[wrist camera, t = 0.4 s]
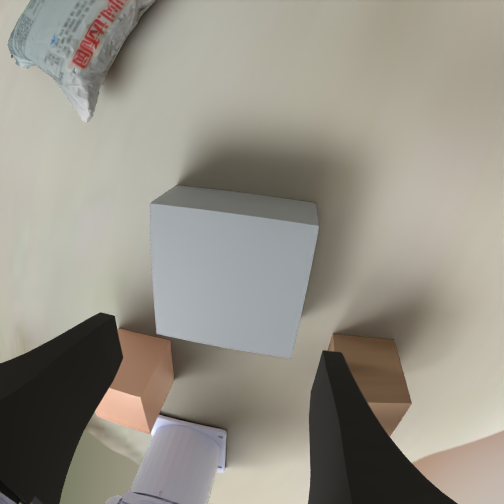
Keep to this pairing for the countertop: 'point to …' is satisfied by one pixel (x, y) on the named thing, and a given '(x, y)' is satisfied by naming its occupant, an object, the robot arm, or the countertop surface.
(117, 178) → the countertop surface
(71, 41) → the packaged food
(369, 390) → the walnut block
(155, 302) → the slate base block
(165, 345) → the terracotta block
